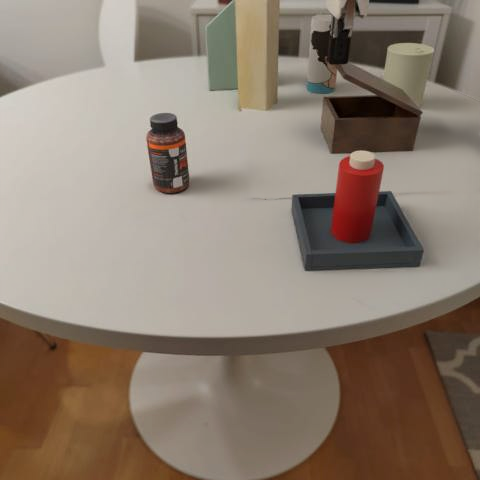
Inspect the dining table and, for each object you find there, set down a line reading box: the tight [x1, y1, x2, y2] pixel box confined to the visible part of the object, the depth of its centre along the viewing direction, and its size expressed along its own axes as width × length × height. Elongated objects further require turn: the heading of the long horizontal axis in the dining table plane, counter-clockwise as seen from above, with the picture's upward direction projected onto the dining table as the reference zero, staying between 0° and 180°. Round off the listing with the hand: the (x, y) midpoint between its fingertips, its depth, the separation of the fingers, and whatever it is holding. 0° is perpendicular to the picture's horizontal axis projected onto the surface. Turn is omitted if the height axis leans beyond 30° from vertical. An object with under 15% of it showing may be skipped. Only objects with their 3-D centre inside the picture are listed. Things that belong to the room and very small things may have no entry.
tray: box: [291, 190, 425, 271], centre depth 62 cm, size 15×15×3 cm
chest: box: [320, 94, 422, 155], centre depth 84 cm, size 15×12×7 cm
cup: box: [306, 13, 338, 95], centre depth 104 cm, size 7×7×15 cm
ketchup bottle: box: [331, 151, 385, 243], centre depth 59 cm, size 5×5×11 cm
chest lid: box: [335, 61, 424, 117], centre depth 79 cm, size 15×12×1 cm
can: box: [382, 42, 435, 108], centre depth 96 cm, size 9×9×12 cm
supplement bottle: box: [145, 112, 190, 194], centre depth 71 cm, size 6×6×11 cm
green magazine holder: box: [204, 0, 238, 91], centre depth 107 cm, size 16×8×20 cm, turn 96°
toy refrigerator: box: [235, 0, 281, 112], centre depth 95 cm, size 8×7×21 cm
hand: (337, 62), depth 76 cm, fingers closed
